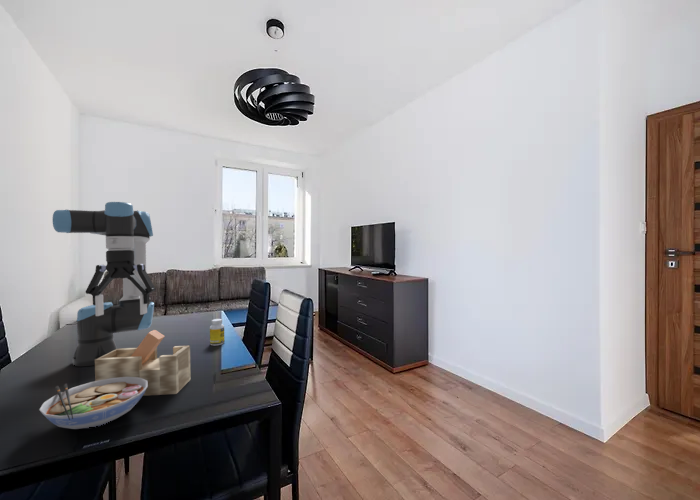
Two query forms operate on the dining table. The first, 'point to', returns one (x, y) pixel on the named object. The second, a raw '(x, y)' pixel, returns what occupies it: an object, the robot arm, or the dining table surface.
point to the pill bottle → (217, 332)
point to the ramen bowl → (94, 402)
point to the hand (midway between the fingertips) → (121, 314)
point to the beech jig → (148, 369)
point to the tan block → (148, 345)
